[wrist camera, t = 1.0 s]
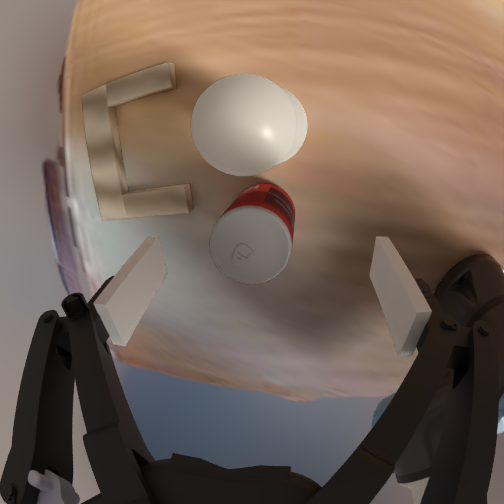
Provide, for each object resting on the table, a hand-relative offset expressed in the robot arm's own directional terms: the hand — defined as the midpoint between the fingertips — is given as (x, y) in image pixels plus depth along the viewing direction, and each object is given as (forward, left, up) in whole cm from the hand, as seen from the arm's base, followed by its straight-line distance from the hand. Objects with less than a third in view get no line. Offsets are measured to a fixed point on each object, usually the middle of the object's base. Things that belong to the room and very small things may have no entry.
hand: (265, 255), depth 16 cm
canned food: (-3, +3, -19) cm, 20 cm away
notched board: (+8, +20, -19) cm, 29 cm away
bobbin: (+8, +2, -19) cm, 21 cm away
